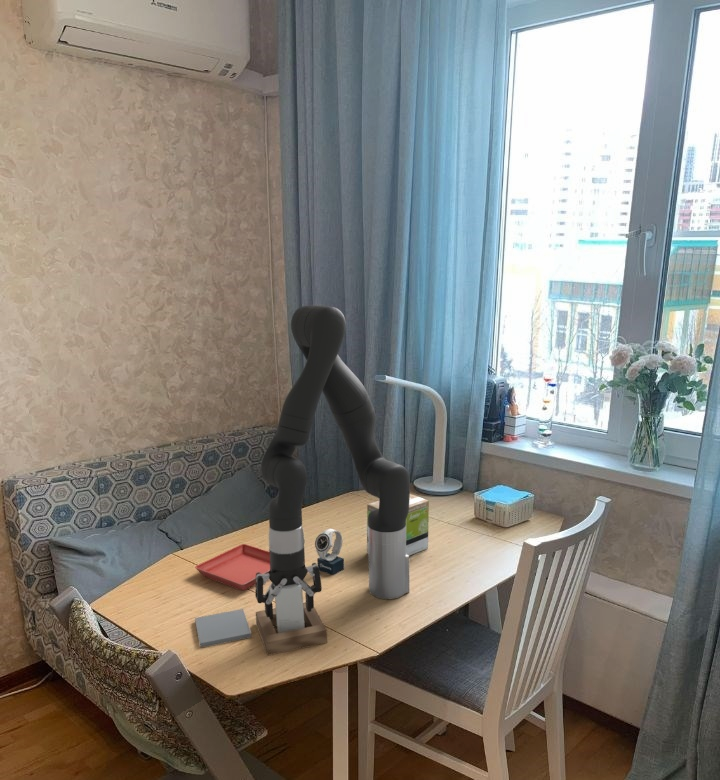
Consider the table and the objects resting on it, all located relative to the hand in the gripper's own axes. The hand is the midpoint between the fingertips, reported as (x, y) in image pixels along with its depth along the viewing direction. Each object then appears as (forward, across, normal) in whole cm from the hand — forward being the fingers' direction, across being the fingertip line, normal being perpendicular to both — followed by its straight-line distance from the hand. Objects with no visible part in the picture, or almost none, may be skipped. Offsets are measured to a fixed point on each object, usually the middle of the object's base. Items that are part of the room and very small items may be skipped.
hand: (289, 613), depth 147 cm
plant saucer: (+5, +5, -33) cm, 34 cm away
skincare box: (+5, 0, 0) cm, 5 cm away
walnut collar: (+5, 0, 0) cm, 5 cm away
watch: (+5, -17, -26) cm, 31 cm away
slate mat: (+5, +14, -7) cm, 16 cm away
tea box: (+5, -38, -30) cm, 49 cm away
